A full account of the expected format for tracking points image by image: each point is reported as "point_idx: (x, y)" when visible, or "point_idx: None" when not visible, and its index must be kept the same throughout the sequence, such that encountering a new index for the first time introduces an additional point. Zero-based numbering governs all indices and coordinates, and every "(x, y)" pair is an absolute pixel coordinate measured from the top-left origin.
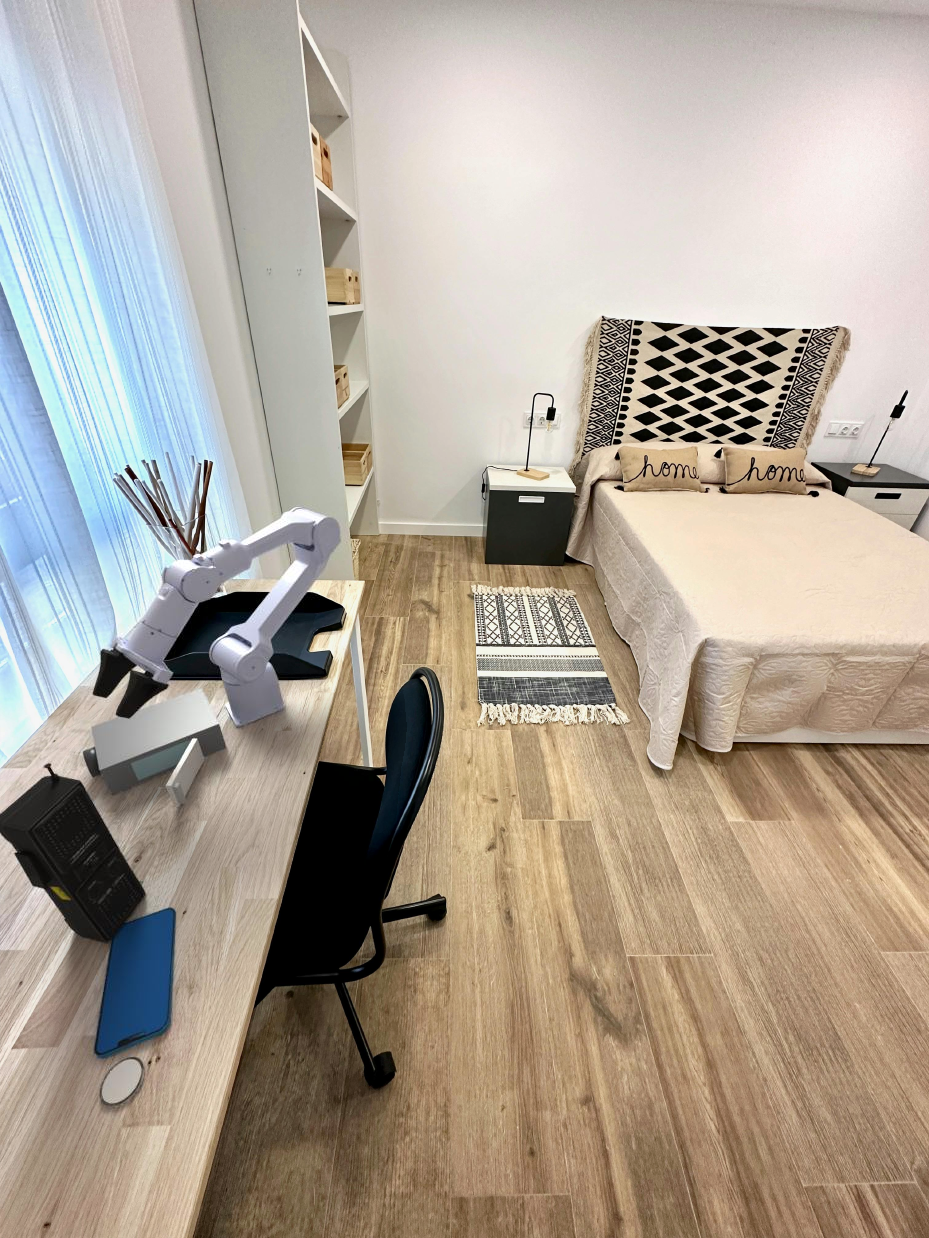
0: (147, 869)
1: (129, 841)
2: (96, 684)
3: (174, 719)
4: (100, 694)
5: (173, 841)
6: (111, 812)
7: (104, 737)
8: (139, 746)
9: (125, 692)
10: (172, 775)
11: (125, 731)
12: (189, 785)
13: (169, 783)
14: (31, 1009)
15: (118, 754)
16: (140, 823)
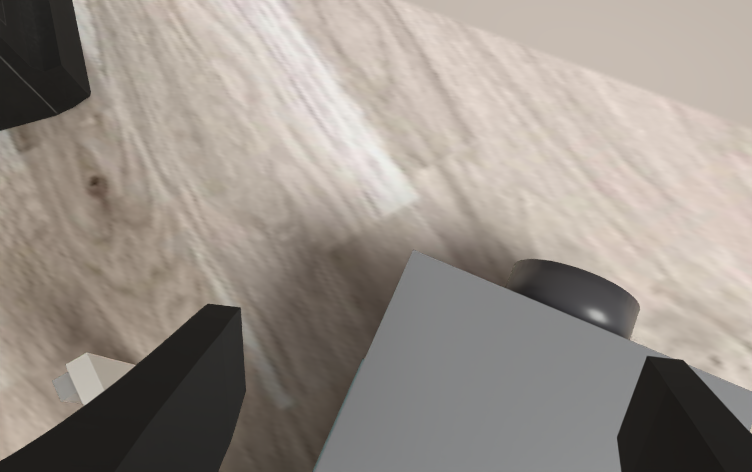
0: (40, 180)
1: (177, 208)
2: (713, 416)
3: None
4: (639, 406)
5: (43, 278)
6: (339, 243)
7: (615, 384)
8: (397, 437)
9: (129, 439)
10: None
11: (571, 469)
12: None
13: (82, 369)
14: None
15: (437, 350)
16: (207, 266)
